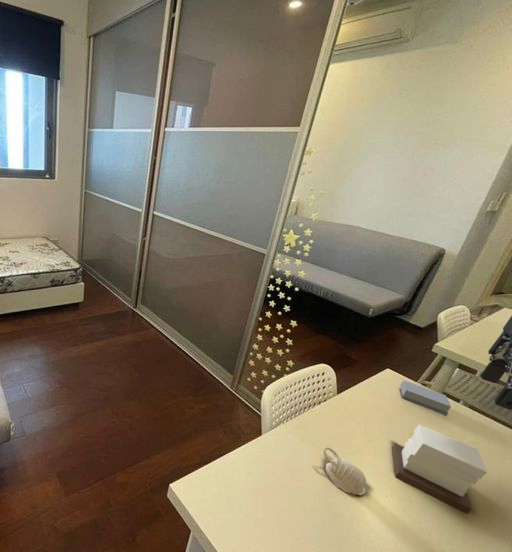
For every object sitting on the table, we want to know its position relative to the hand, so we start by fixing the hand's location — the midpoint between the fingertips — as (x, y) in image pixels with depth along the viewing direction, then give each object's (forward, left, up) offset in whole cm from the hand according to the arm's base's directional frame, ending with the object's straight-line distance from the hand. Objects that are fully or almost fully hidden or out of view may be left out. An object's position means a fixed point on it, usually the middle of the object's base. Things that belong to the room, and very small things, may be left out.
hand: (494, 392), depth 59 cm
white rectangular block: (+1, +3, -15) cm, 15 cm away
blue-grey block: (-1, -25, -22) cm, 34 cm away
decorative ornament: (+16, +16, -23) cm, 32 cm away
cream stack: (+1, +3, -22) cm, 23 cm away
